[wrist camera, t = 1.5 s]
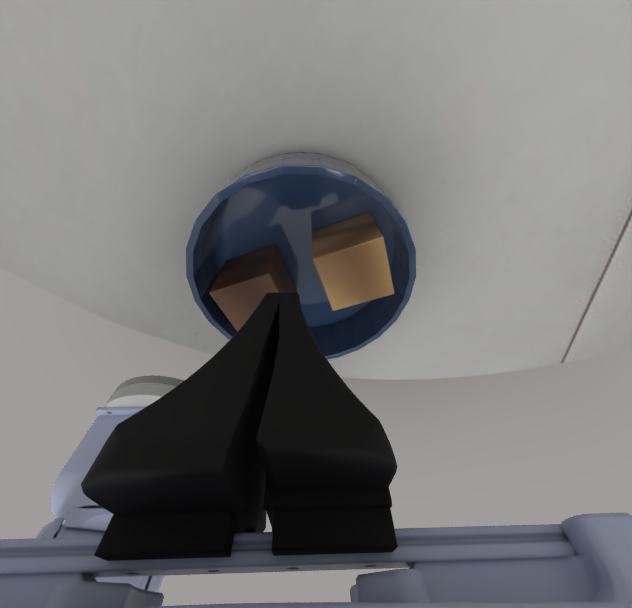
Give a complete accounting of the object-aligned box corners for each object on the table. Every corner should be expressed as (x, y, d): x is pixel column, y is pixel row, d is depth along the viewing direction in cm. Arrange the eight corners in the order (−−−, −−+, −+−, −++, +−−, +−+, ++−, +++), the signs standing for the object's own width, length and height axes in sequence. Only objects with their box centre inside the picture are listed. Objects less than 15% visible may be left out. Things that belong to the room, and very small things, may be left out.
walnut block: (251, 302, 21) (241, 337, 18) (224, 260, 19) (208, 292, 16) (297, 288, 20) (295, 322, 17) (276, 243, 18) (269, 273, 15)
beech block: (328, 278, 20) (332, 311, 17) (311, 231, 18) (312, 259, 14) (380, 262, 19) (395, 294, 16) (369, 211, 17) (383, 236, 14)
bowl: (227, 327, 23) (215, 362, 20) (181, 150, 15) (148, 163, 12) (380, 326, 24) (391, 360, 21) (419, 153, 15) (448, 167, 12)
